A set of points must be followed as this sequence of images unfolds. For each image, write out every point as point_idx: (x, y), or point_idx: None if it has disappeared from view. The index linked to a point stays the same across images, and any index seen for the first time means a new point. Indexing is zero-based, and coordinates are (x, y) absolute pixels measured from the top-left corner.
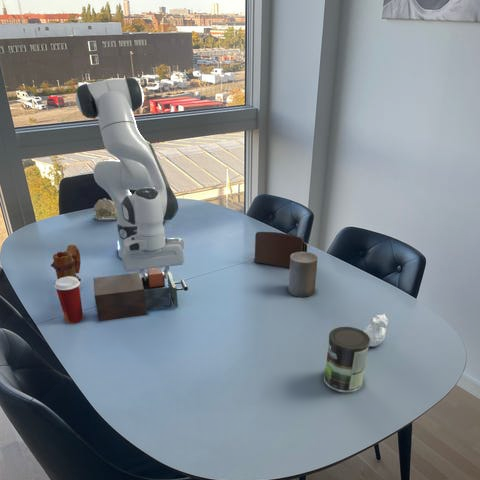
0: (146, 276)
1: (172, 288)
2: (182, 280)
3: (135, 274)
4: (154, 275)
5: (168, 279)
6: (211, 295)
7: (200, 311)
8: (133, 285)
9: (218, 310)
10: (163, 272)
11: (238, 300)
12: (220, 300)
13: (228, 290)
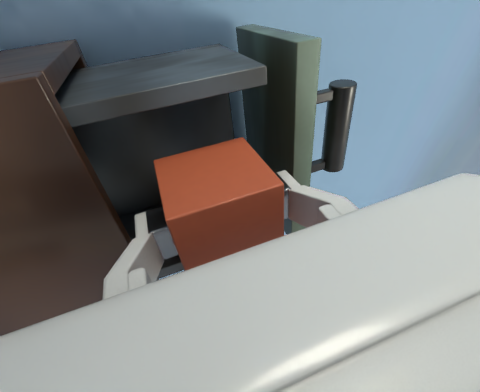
0: (165, 258)
1: (285, 221)
2: (347, 99)
3: (5, 126)
4: None
5: (278, 87)
6: (391, 67)
7: (319, 180)
8: (81, 290)
9: (364, 173)
10: (285, 196)
11: (437, 115)
12: (397, 112)
13: (460, 27)
